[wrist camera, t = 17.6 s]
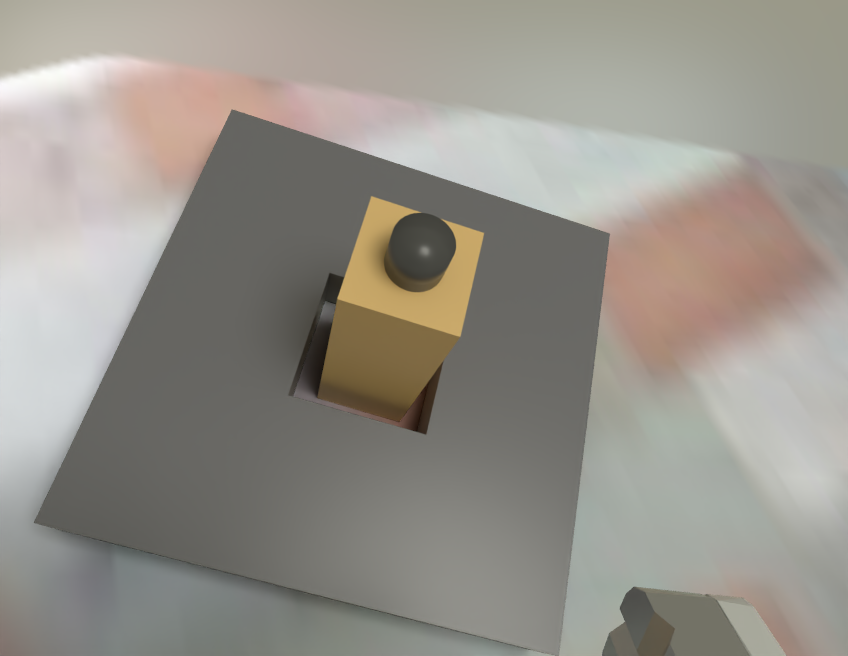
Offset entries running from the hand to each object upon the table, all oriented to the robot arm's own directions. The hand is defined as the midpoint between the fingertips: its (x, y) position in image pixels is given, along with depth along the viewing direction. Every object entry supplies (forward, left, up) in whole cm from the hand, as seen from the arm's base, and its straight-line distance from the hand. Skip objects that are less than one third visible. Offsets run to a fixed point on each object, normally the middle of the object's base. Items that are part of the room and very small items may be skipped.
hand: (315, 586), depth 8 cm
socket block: (+8, +7, -20) cm, 22 cm away
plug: (+8, +7, -20) cm, 22 cm away
